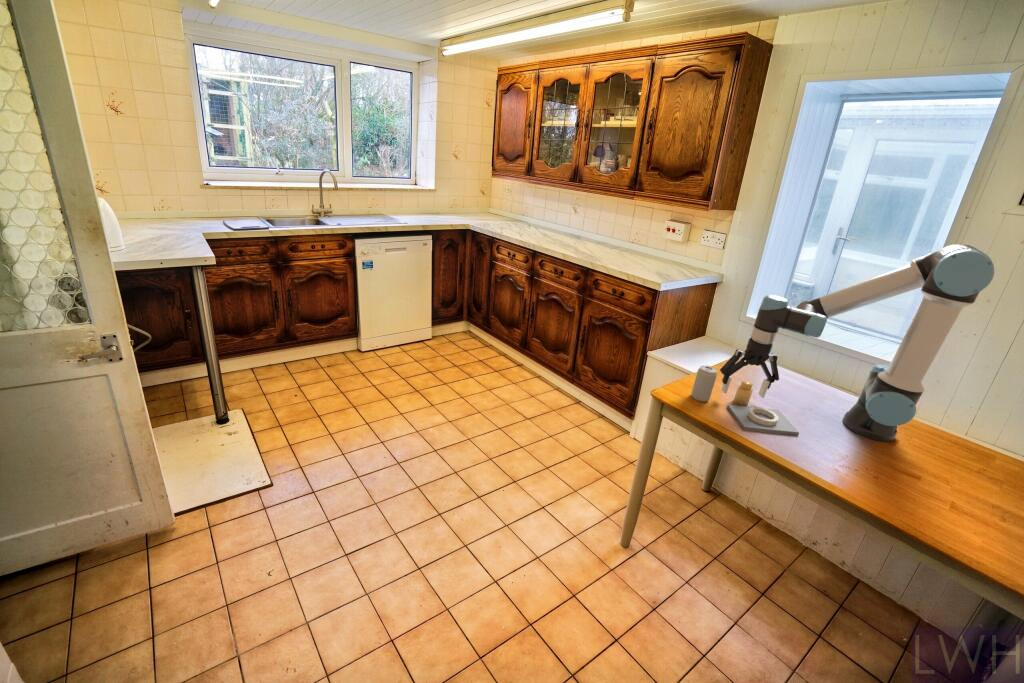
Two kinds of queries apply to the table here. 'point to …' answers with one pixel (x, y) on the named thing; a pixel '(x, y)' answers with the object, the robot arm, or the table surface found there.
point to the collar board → (760, 427)
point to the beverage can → (704, 383)
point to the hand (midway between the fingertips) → (742, 393)
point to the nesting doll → (743, 393)
